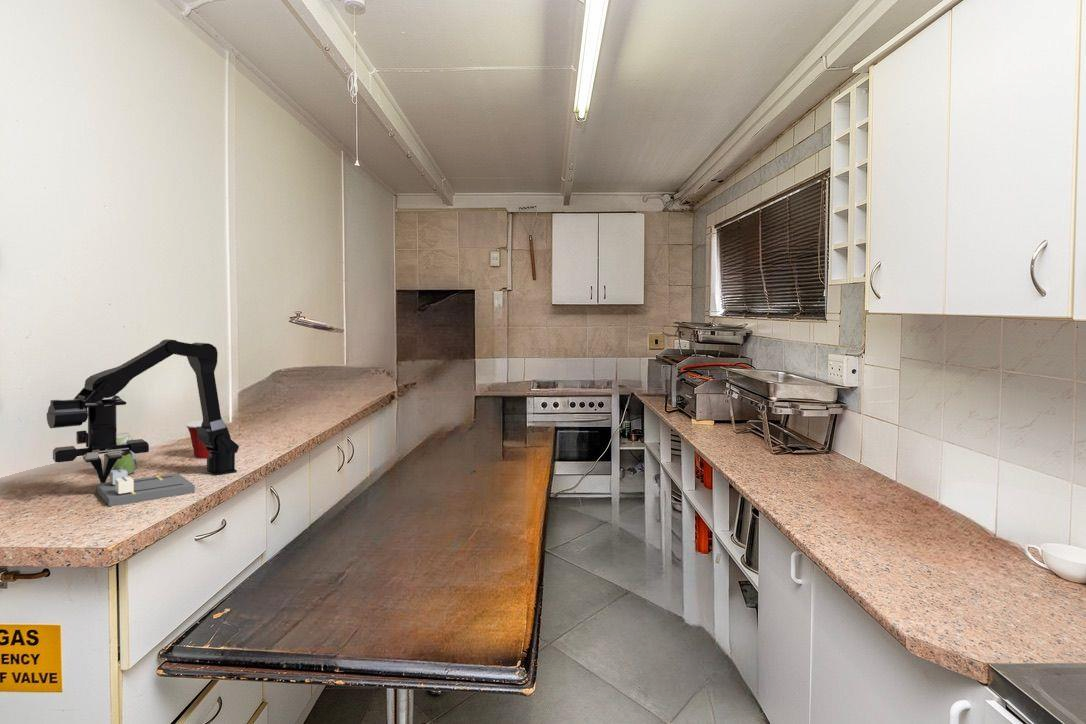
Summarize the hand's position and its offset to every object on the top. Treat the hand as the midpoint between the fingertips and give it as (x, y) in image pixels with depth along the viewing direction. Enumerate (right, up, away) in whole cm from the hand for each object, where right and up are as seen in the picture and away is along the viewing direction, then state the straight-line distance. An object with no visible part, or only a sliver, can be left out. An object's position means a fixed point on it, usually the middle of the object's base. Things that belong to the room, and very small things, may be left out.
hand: (102, 482), depth 139 cm
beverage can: (-9, -2, +18) cm, 21 cm away
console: (+9, -3, +3) cm, 10 cm away
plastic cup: (-1, -1, +43) cm, 43 cm away
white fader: (+2, 0, +2) cm, 3 cm away
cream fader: (+9, -1, -5) cm, 10 cm away
